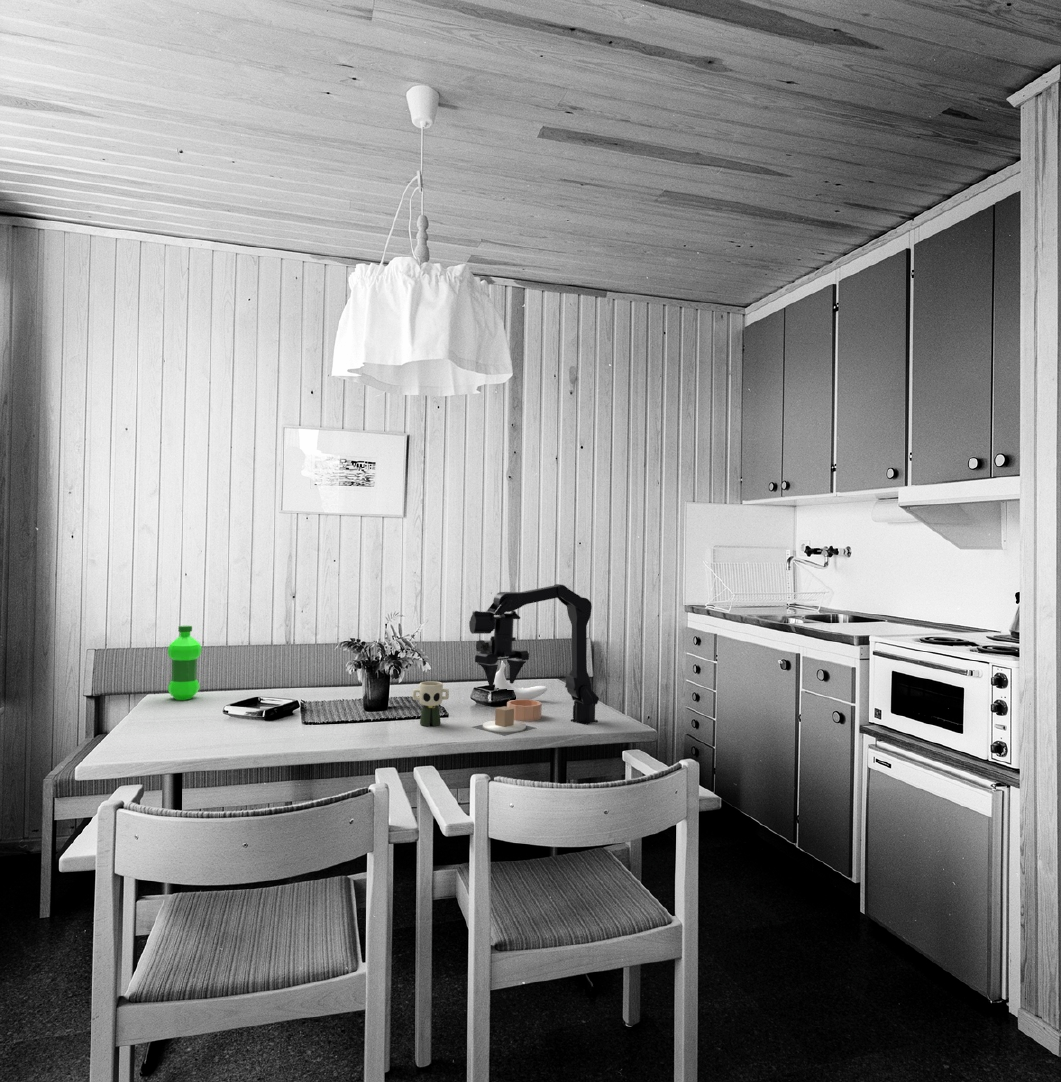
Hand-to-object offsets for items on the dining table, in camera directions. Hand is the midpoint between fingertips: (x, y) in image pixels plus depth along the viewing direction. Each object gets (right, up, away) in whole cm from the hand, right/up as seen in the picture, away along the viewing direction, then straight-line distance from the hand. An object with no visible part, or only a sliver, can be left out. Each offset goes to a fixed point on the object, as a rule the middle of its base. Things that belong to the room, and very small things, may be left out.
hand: (501, 684), depth 236 cm
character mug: (-22, -13, +1) cm, 25 cm away
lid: (+1, -13, -1) cm, 13 cm away
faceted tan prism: (+7, -13, +14) cm, 20 cm away
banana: (+5, -14, +41) cm, 44 cm away
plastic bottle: (-111, -11, +32) cm, 116 cm away
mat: (+1, -13, -1) cm, 13 cm away
